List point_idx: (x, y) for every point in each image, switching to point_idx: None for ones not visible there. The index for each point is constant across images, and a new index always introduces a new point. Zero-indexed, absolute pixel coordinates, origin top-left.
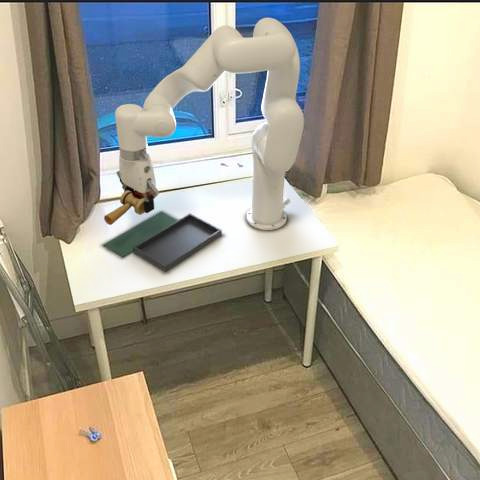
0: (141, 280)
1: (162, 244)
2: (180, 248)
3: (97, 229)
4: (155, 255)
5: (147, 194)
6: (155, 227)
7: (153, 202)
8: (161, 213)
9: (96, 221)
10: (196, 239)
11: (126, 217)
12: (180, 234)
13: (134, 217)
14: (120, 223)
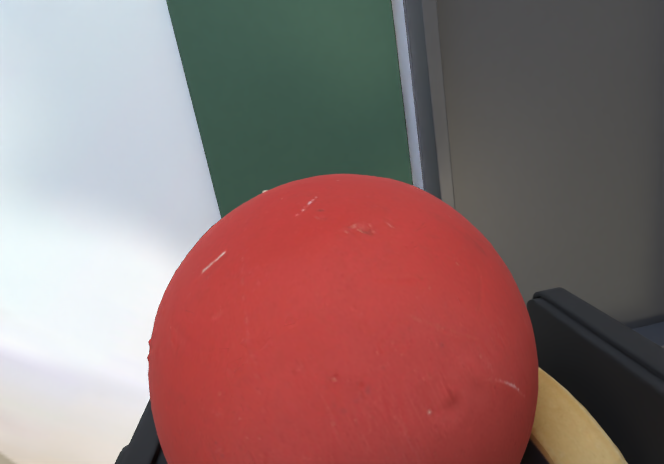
0: None
1: (503, 217)
2: (610, 152)
3: (119, 441)
4: None
5: (535, 410)
6: (324, 152)
7: (634, 338)
8: (190, 3)
9: (28, 415)
10: (622, 1)
11: (85, 245)
12: (504, 57)
13: (115, 199)
14: (134, 309)
